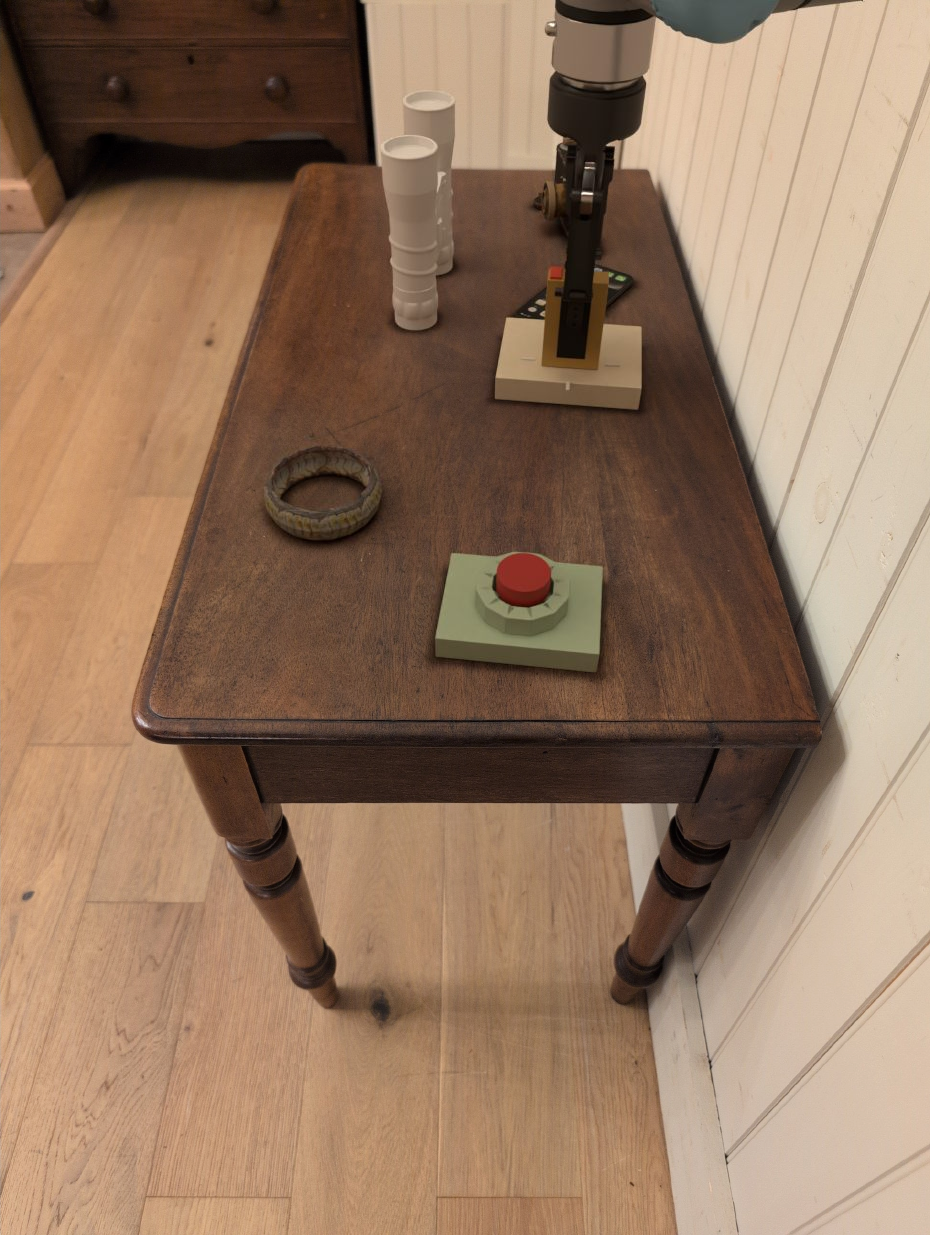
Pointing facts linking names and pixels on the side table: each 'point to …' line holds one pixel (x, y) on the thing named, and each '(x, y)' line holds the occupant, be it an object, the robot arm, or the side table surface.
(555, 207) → the camera
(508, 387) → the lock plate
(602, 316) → the lock knob
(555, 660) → the box
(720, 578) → the side table surface
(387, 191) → the binoculars
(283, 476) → the decorative ring
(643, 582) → the side table surface
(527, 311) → the smartphone
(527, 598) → the button
